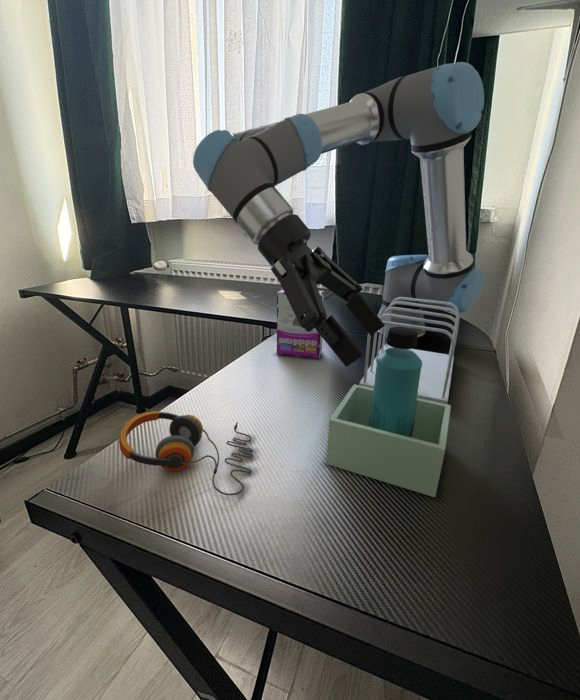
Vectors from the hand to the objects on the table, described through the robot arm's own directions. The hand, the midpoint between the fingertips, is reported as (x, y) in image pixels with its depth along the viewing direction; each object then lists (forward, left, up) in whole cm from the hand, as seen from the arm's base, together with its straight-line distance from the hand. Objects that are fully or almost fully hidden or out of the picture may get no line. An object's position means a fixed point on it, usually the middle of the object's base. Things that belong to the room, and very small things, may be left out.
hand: (367, 344), depth 54 cm
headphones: (+14, -22, -18) cm, 32 cm away
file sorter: (-31, +4, -18) cm, 36 cm away
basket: (0, +5, -18) cm, 18 cm away
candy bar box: (-32, -24, -18) cm, 44 cm away
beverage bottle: (0, +5, -17) cm, 18 cm away
